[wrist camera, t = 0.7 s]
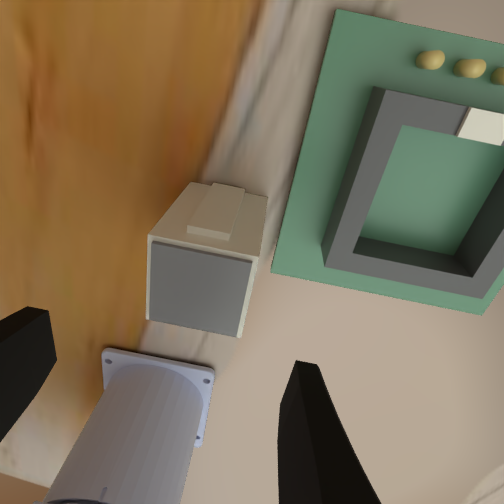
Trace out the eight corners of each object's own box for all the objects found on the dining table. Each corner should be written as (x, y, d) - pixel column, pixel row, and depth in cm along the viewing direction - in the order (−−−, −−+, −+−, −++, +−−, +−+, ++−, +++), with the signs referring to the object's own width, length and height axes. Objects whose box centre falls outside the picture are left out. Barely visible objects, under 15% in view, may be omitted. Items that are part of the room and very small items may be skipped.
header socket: (476, 308, 19) (504, 344, 17) (271, 266, 19) (268, 297, 16) (635, 74, 13) (715, 77, 11) (335, 10, 13) (346, -2, 10)
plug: (253, 262, 19) (240, 341, 14) (184, 248, 19) (144, 322, 14) (269, 191, 17) (260, 252, 11) (191, 175, 17) (145, 229, 11)
